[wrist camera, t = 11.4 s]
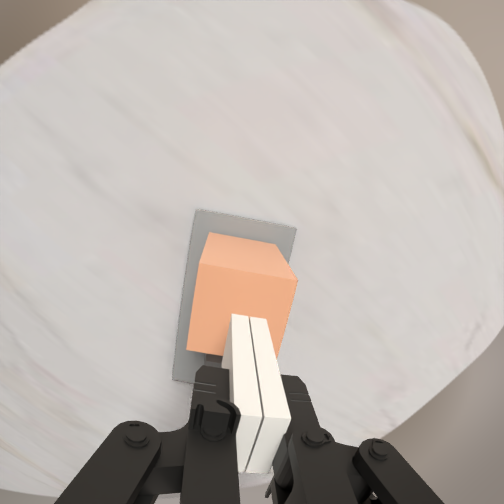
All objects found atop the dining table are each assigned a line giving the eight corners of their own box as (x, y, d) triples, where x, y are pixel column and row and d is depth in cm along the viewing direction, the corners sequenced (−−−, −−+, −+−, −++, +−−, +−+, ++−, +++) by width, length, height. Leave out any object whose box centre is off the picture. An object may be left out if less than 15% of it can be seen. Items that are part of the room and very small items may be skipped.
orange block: (198, 294, 26) (186, 349, 17) (209, 232, 25) (198, 263, 16) (261, 305, 26) (275, 362, 18) (275, 244, 25) (298, 280, 17)
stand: (173, 375, 29) (157, 442, 20) (196, 208, 25) (179, 228, 16) (254, 388, 30) (263, 455, 21) (295, 227, 26) (327, 255, 17)
